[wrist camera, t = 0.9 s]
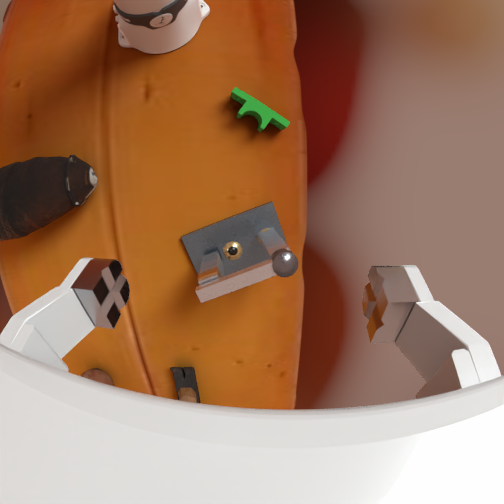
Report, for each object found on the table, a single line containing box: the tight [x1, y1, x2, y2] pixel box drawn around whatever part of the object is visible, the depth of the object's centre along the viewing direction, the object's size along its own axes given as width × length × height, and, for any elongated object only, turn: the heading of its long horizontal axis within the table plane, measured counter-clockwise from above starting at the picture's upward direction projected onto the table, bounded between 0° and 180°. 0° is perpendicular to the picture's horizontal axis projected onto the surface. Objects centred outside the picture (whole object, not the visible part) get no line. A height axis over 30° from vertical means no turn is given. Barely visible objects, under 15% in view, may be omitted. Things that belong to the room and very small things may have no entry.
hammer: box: [170, 367, 200, 403], centre depth 49 cm, size 20×5×30 cm, turn 1°
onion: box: [81, 368, 114, 386], centre depth 56 cm, size 10×9×10 cm
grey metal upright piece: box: [195, 227, 298, 303], centre depth 46 cm, size 4×15×15 cm, turn 110°
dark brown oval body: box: [0, 155, 98, 241], centre depth 40 cm, size 15×15×25 cm
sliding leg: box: [198, 251, 224, 285], centre depth 46 cm, size 3×3×13 cm
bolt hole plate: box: [181, 201, 287, 276], centre depth 53 cm, size 12×18×1 cm, turn 110°
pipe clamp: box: [231, 87, 290, 132], centre depth 45 cm, size 11×4×5 cm, turn 56°
